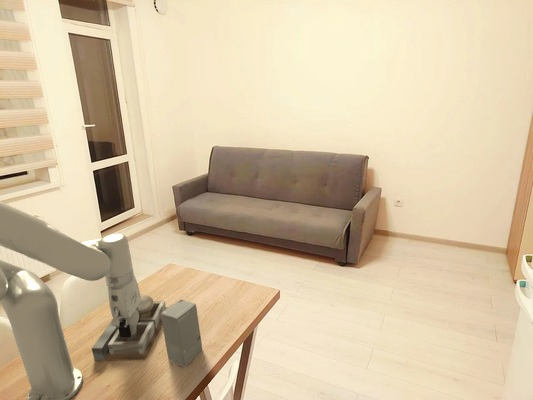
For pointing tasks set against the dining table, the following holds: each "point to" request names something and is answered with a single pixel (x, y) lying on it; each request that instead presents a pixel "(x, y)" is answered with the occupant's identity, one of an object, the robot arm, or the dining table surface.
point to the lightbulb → (132, 324)
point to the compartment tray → (147, 331)
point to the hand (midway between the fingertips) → (130, 328)
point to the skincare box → (181, 332)
